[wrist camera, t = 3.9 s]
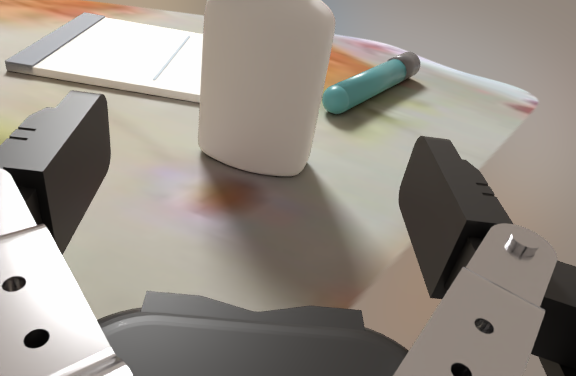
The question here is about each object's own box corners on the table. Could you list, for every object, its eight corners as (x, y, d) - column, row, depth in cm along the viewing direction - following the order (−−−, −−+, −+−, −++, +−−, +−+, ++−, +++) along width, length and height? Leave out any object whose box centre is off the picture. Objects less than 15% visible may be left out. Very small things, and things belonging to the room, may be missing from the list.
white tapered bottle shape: (248, 123, 27) (275, -123, 21) (321, 168, 24) (381, -101, 18) (185, 143, 24) (193, -135, 18) (259, 196, 22) (303, -110, 15)
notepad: (239, 109, 29) (240, 100, 28) (6, 70, 28) (4, 60, 28) (261, 50, 38) (261, 42, 37) (85, 20, 37) (84, 12, 37)
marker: (338, 121, 29) (345, 93, 28) (313, 110, 30) (318, 82, 29) (416, 79, 37) (423, 56, 36) (395, 71, 38) (401, 48, 37)
